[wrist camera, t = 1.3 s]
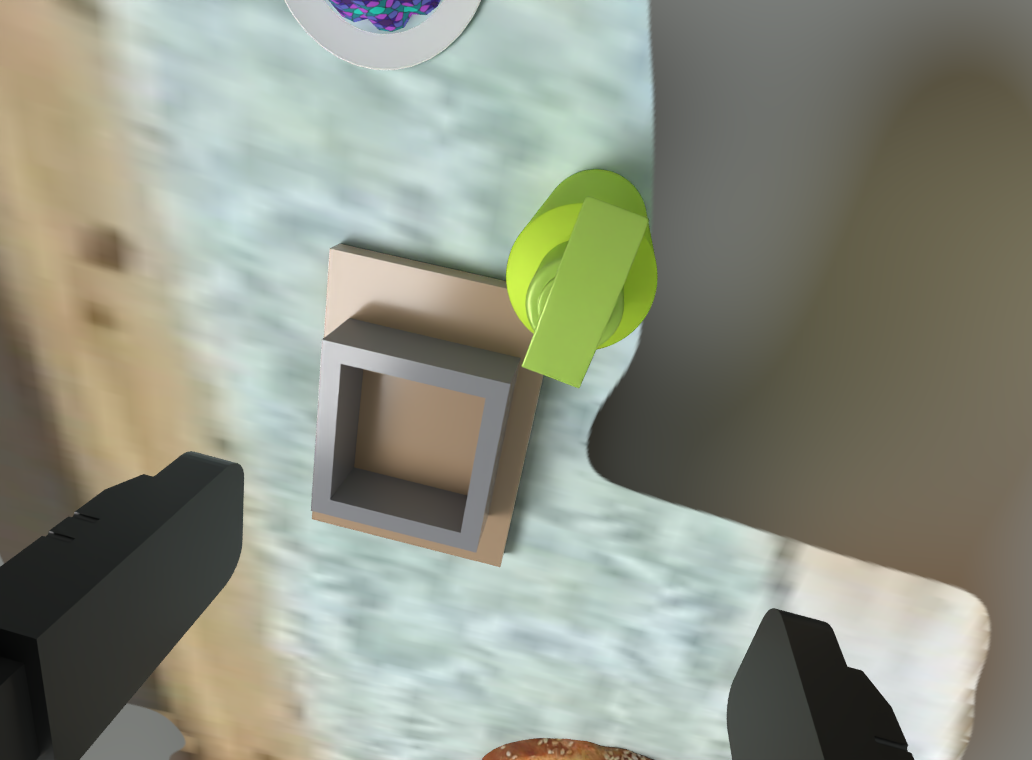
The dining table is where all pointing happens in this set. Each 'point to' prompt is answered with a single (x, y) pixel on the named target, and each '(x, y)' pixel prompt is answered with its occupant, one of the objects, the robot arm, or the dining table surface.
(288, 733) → the dining table surface
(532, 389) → the soap caddy
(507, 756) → the bread slice
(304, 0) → the pudding
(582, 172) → the soap dispenser
